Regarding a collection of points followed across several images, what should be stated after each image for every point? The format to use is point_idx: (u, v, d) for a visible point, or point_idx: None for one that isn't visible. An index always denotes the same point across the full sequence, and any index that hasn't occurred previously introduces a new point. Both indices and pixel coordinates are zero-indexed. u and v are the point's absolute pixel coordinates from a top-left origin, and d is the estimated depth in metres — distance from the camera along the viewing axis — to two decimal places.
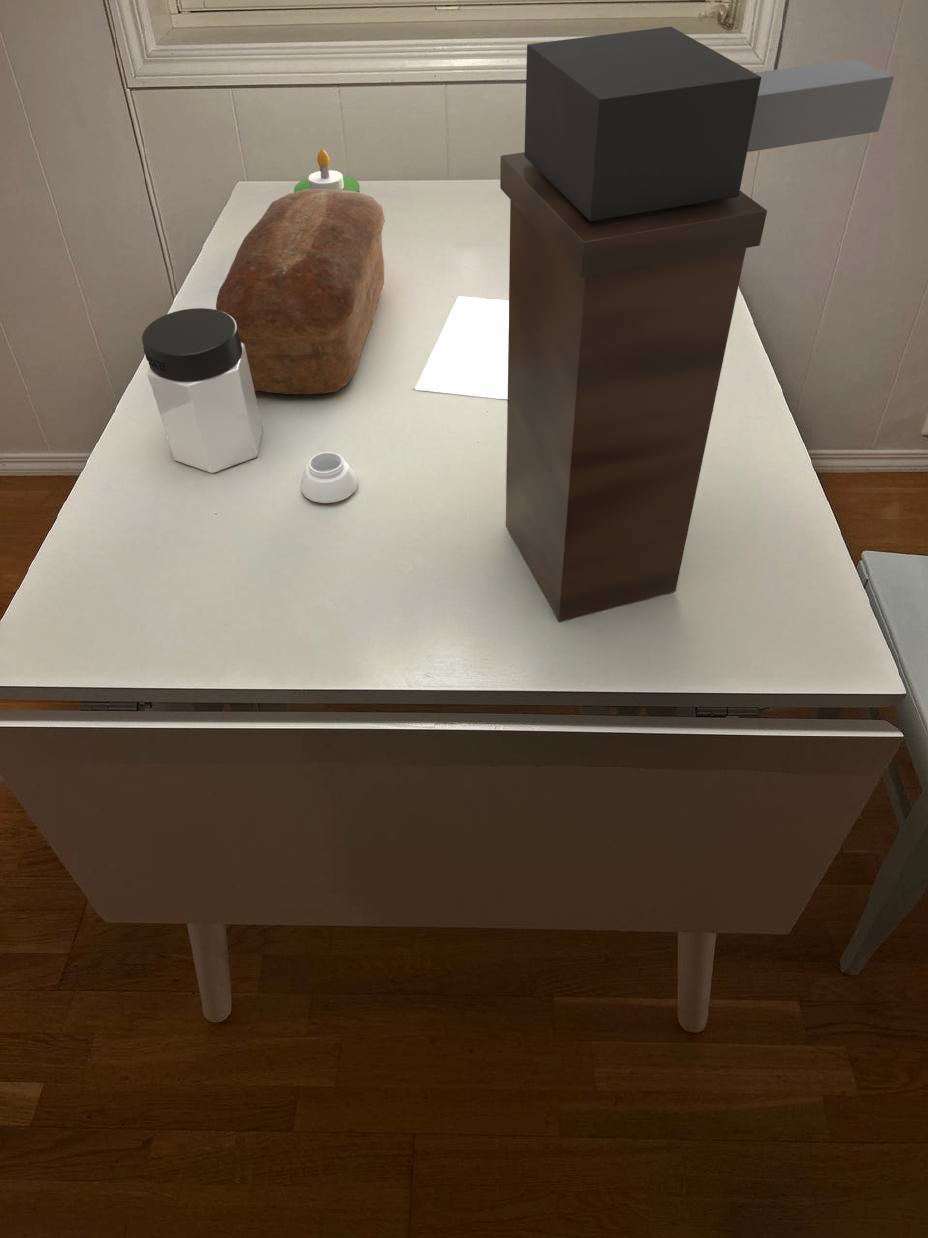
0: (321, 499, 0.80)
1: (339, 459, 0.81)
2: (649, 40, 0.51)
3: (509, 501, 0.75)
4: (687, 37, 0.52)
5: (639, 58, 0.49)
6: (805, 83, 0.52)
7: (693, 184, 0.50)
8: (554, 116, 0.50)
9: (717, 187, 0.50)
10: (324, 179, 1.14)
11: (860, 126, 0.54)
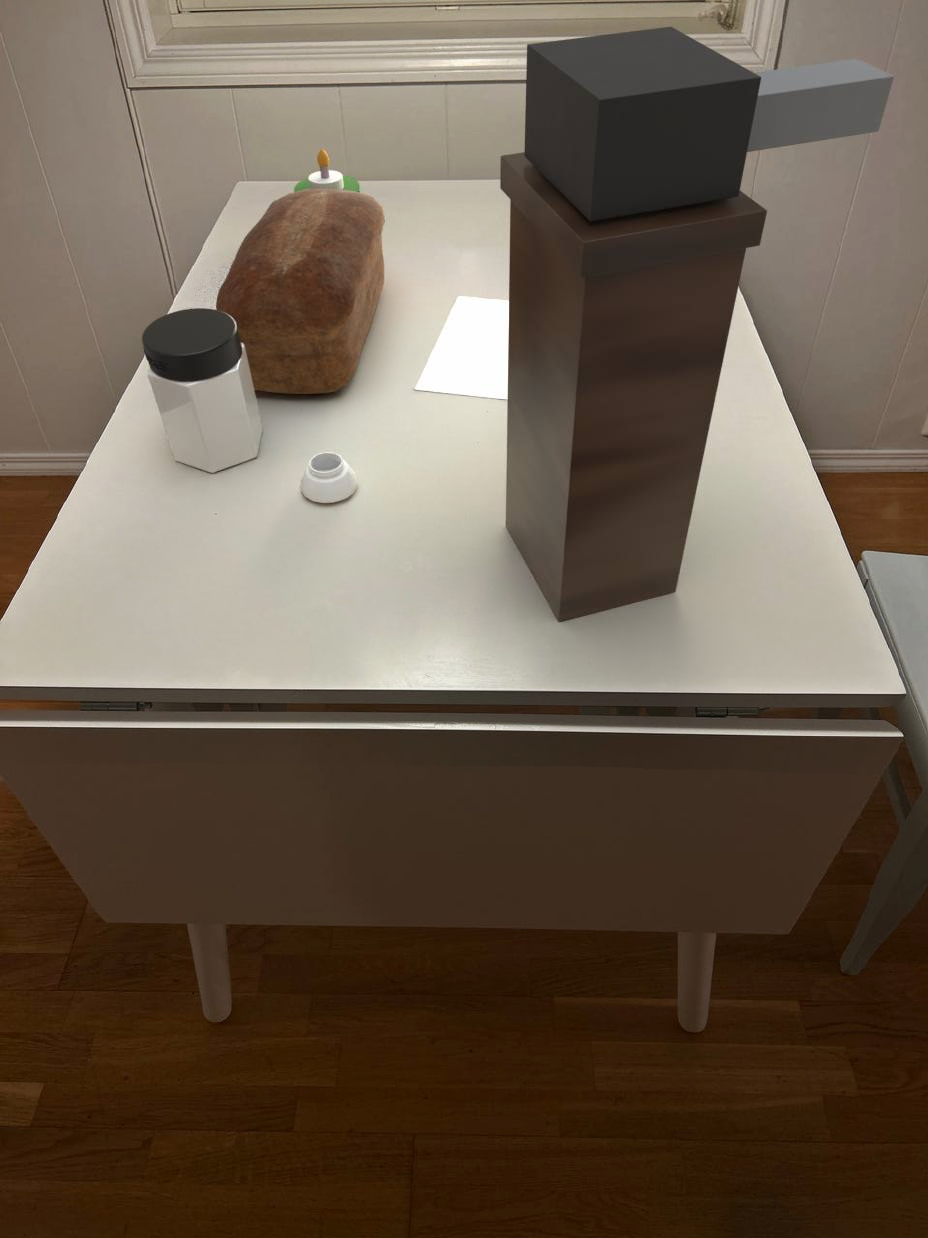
0: (321, 499, 0.80)
1: (339, 459, 0.81)
2: (649, 40, 0.51)
3: (509, 501, 0.75)
4: (687, 37, 0.52)
5: (639, 58, 0.49)
6: (805, 83, 0.52)
7: (693, 184, 0.50)
8: (554, 116, 0.50)
9: (717, 187, 0.50)
10: (324, 179, 1.14)
11: (860, 126, 0.54)
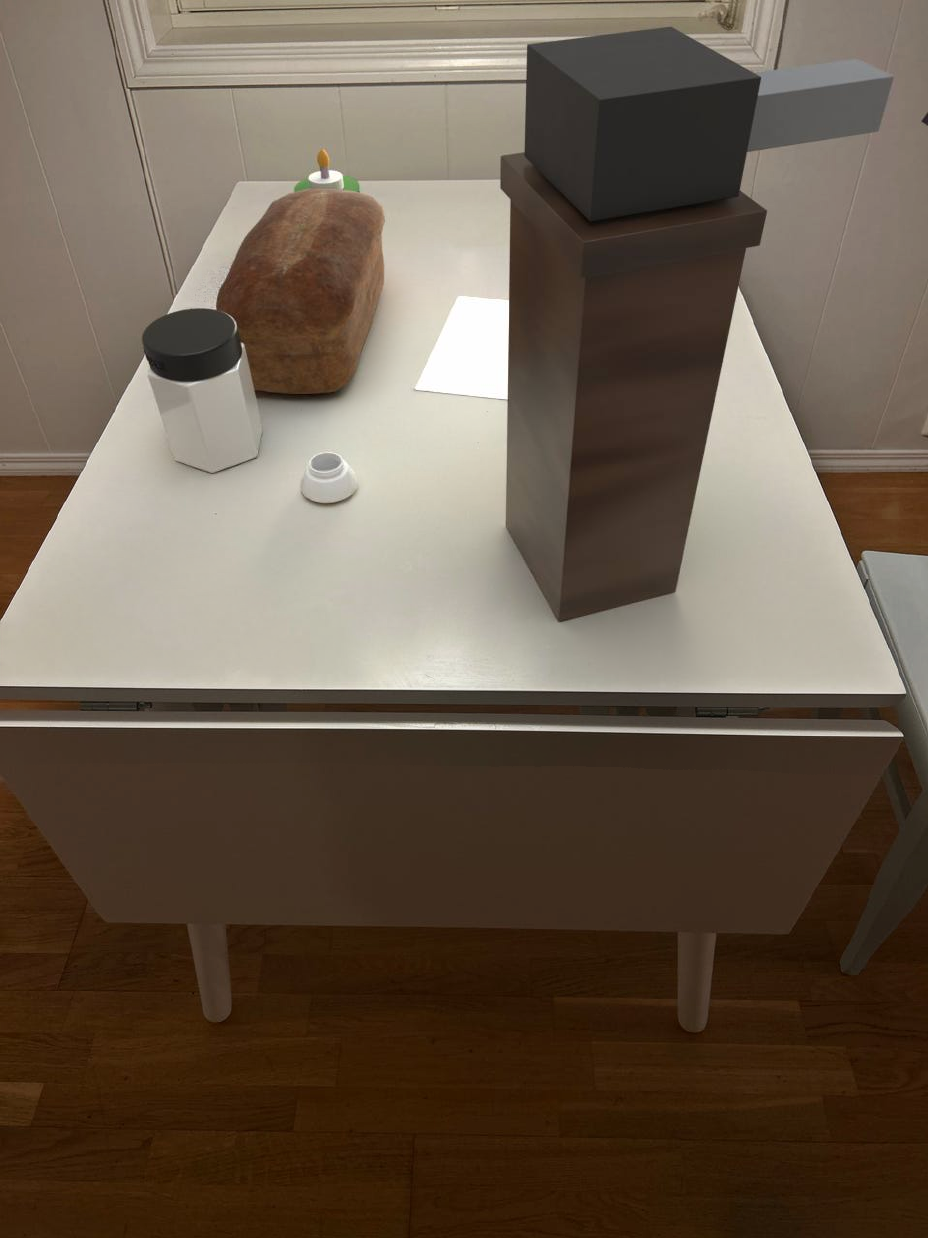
0: (321, 499, 0.80)
1: (339, 459, 0.81)
2: (649, 40, 0.51)
3: (509, 501, 0.75)
4: (687, 37, 0.52)
5: (639, 58, 0.49)
6: (805, 83, 0.52)
7: (693, 184, 0.50)
8: (554, 116, 0.50)
9: (717, 187, 0.50)
10: (324, 179, 1.14)
11: (860, 126, 0.54)
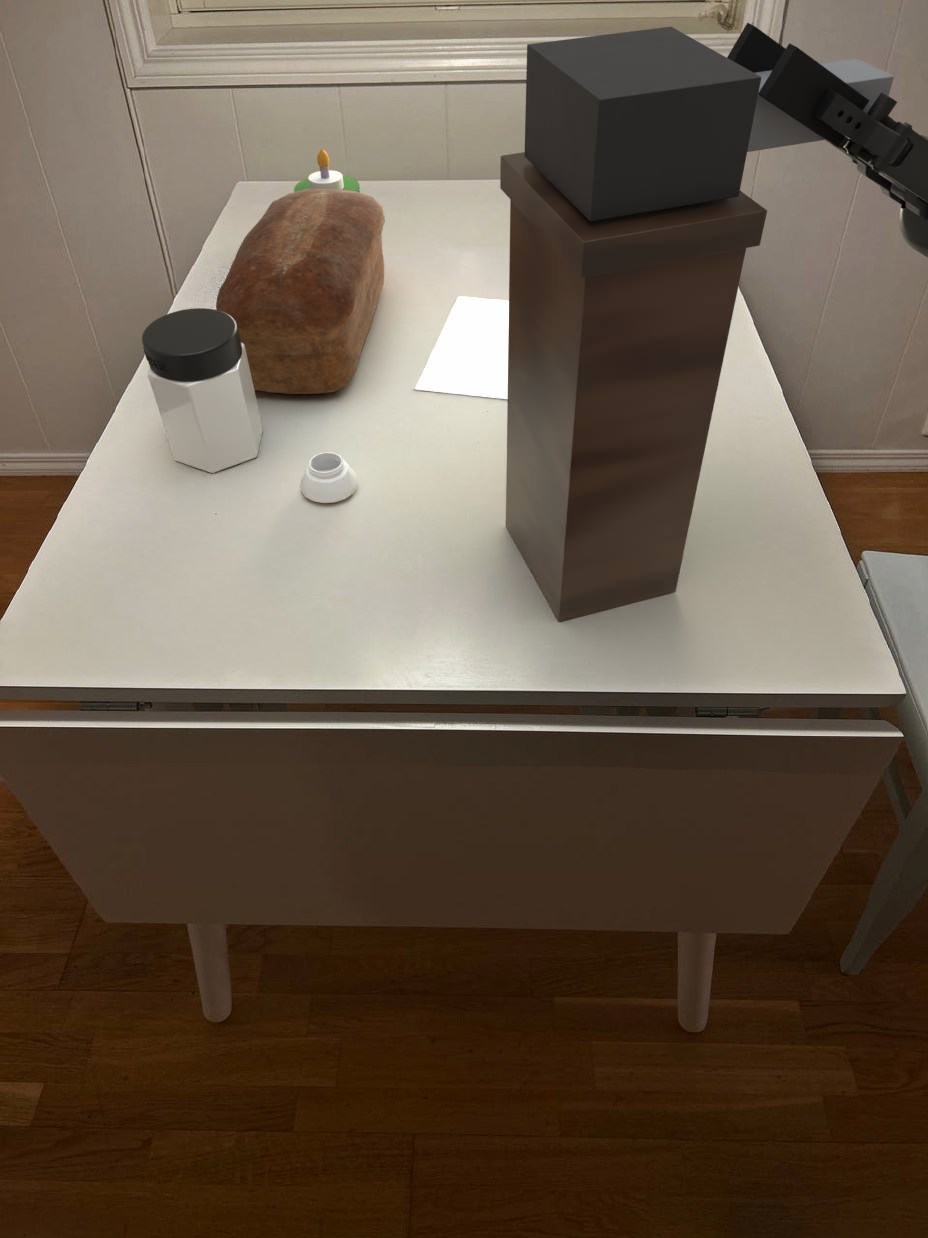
0: (321, 499, 0.80)
1: (339, 459, 0.81)
2: (649, 40, 0.51)
3: (509, 501, 0.75)
4: (687, 37, 0.52)
5: (639, 58, 0.49)
6: None
7: (693, 184, 0.50)
8: (554, 116, 0.50)
9: (717, 187, 0.50)
10: (324, 179, 1.14)
11: None
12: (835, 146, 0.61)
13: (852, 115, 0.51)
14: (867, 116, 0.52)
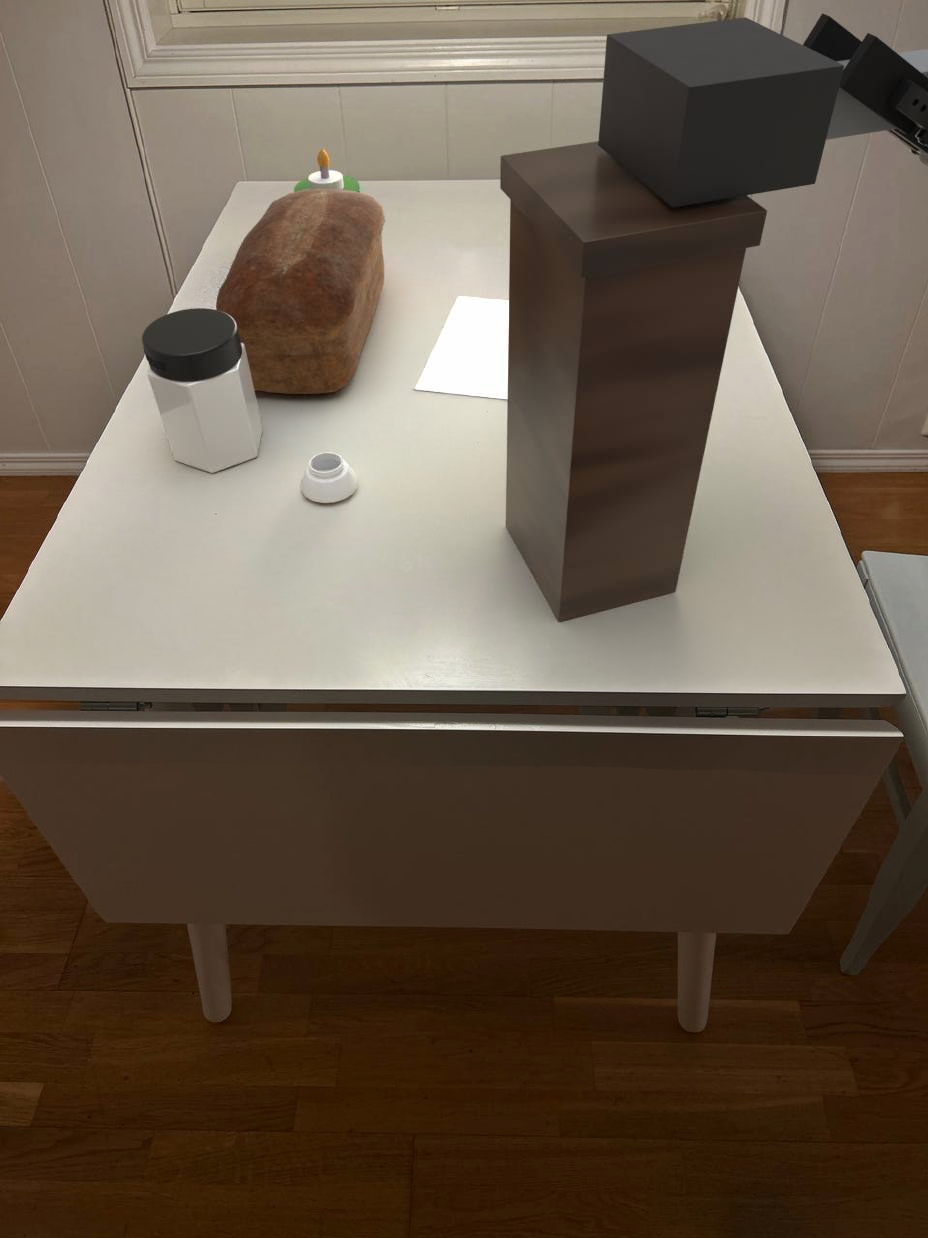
0: (321, 499, 0.80)
1: (339, 459, 0.81)
2: (727, 30, 0.52)
3: (509, 501, 0.75)
4: (764, 27, 0.53)
5: (720, 48, 0.50)
6: None
7: (772, 171, 0.51)
8: (635, 105, 0.51)
9: (795, 174, 0.51)
10: (324, 179, 1.14)
11: None
12: (897, 136, 0.62)
13: (926, 104, 0.52)
14: None
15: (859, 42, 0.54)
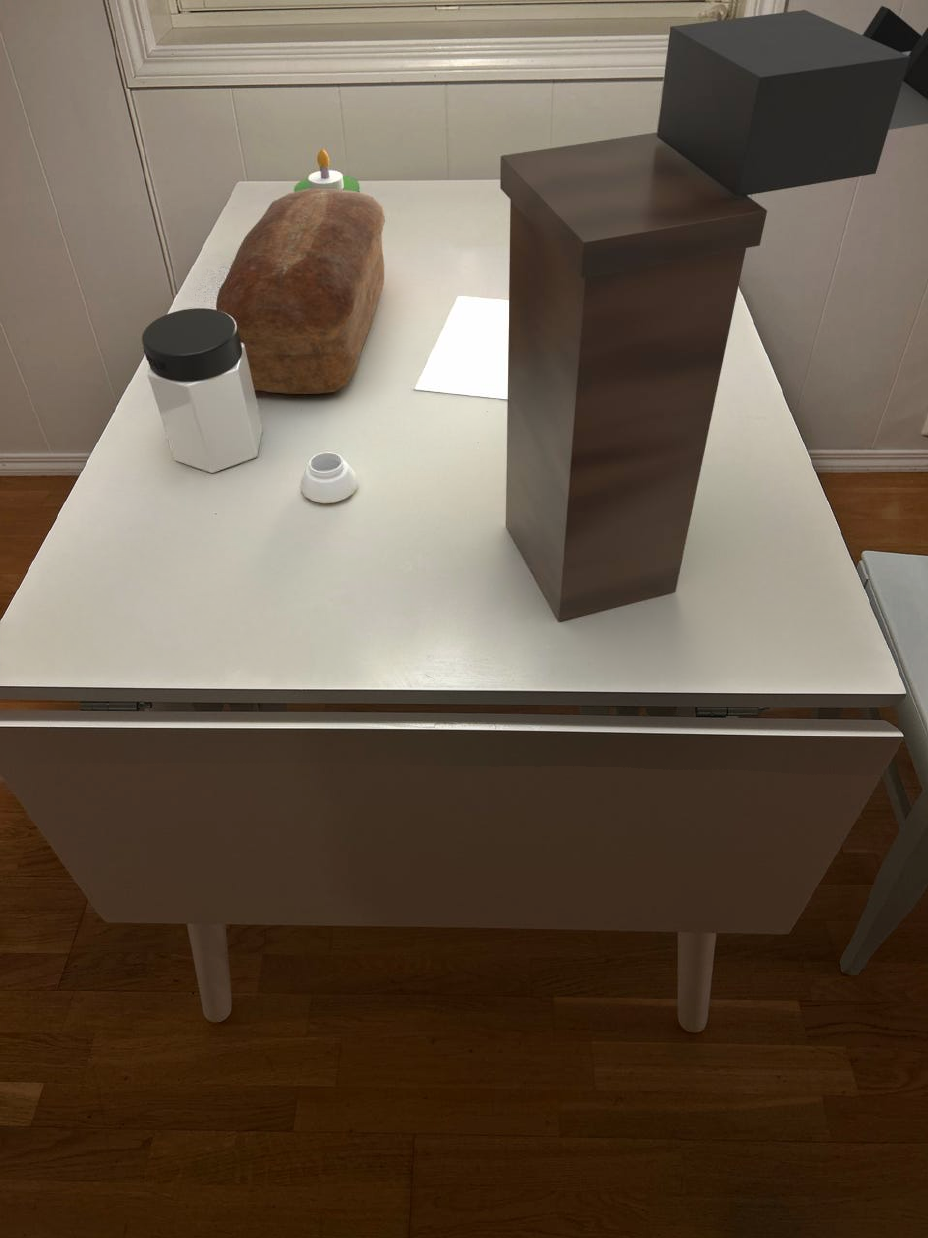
0: (321, 499, 0.80)
1: (339, 459, 0.81)
2: (788, 22, 0.53)
3: (509, 501, 0.75)
4: (824, 20, 0.53)
5: (785, 39, 0.51)
6: None
7: (835, 161, 0.51)
8: (699, 95, 0.52)
9: (857, 164, 0.52)
10: (324, 179, 1.14)
11: None
12: None
13: None
14: None
15: (916, 34, 0.55)
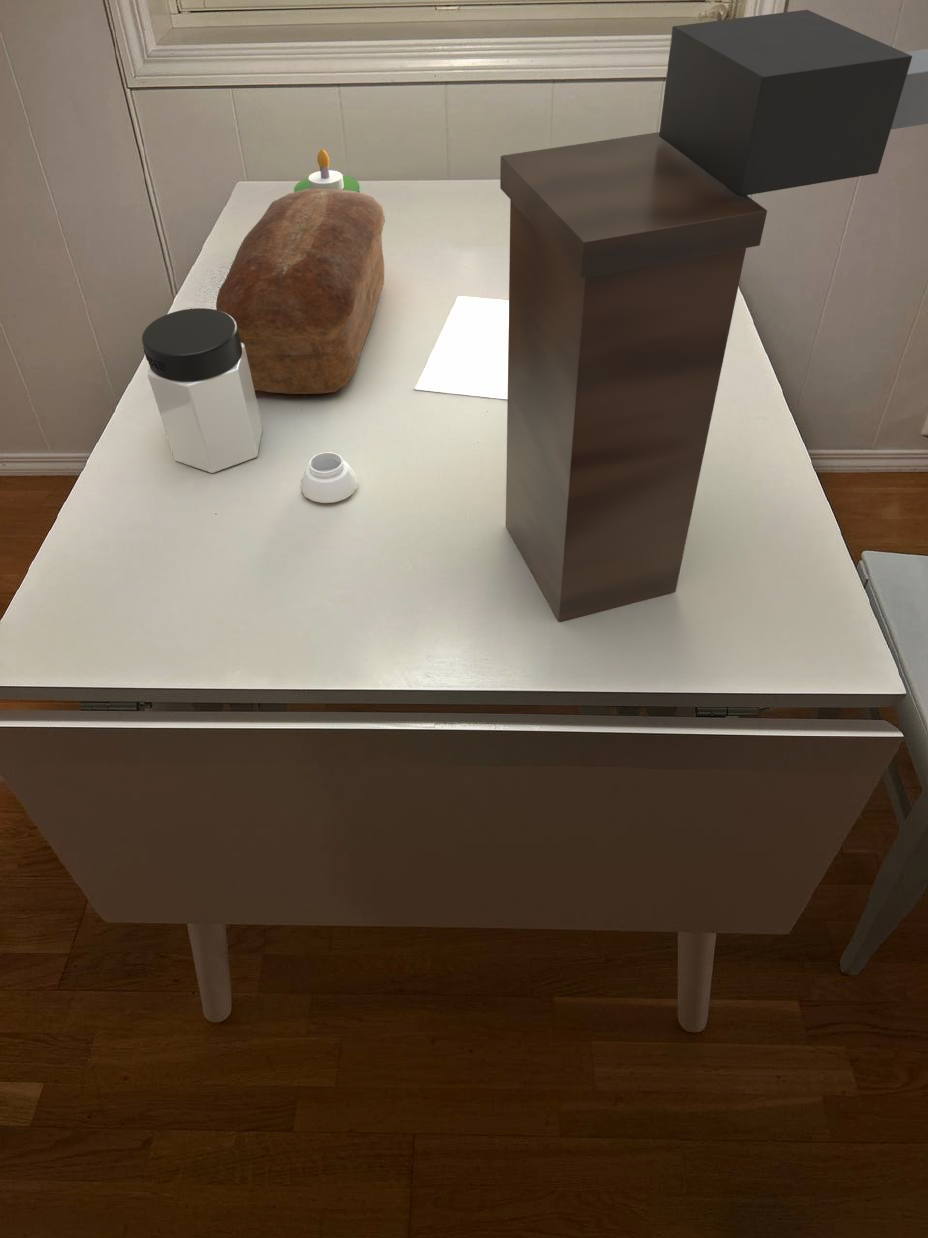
0: (321, 499, 0.80)
1: (339, 459, 0.81)
2: (790, 22, 0.53)
3: (509, 501, 0.75)
4: (826, 19, 0.53)
5: (787, 39, 0.51)
6: None
7: (838, 161, 0.51)
8: (701, 95, 0.52)
9: (859, 164, 0.52)
10: (324, 179, 1.14)
11: None
12: None
13: None
14: None
15: None
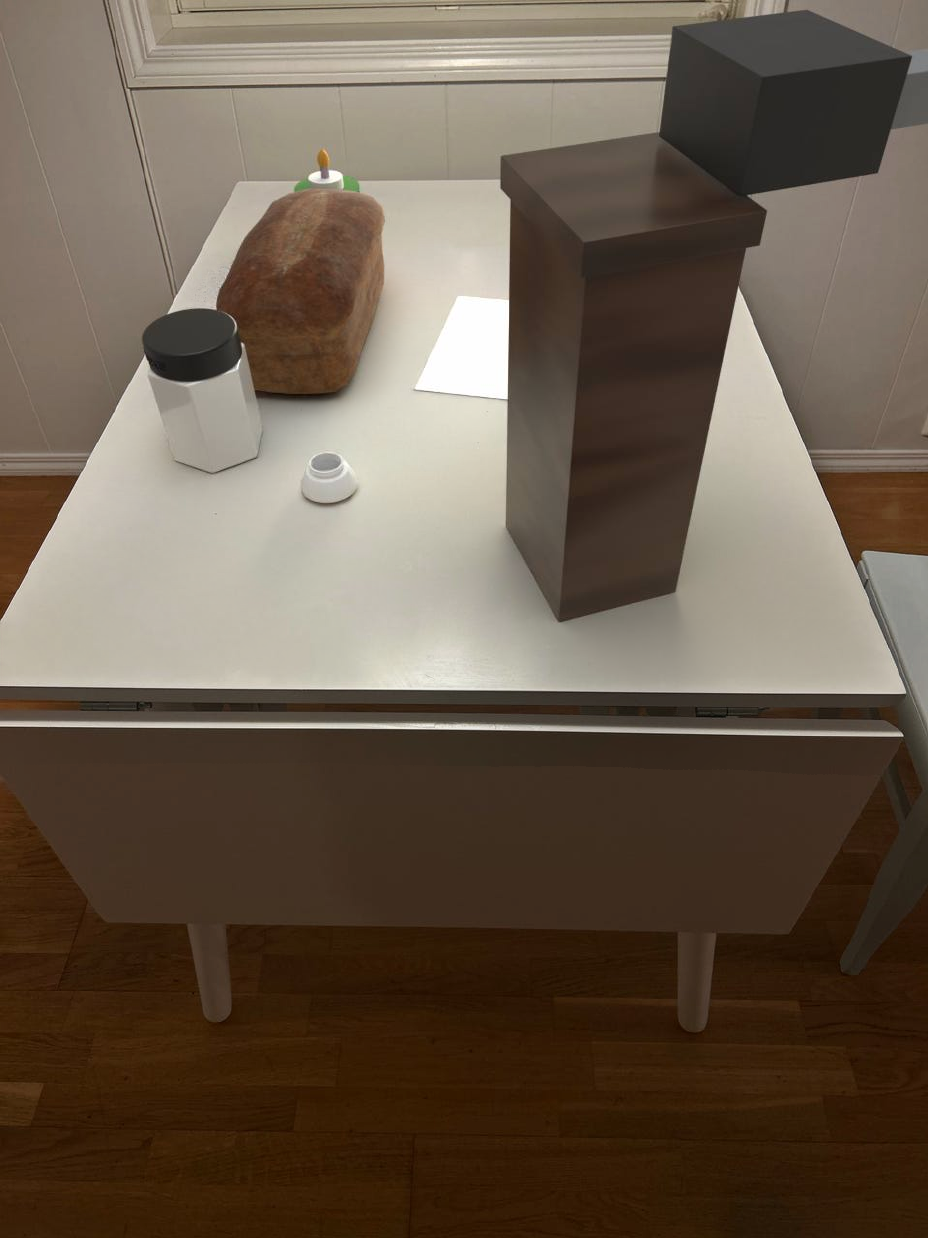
0: (321, 499, 0.80)
1: (339, 459, 0.81)
2: (790, 22, 0.53)
3: (509, 501, 0.75)
4: (826, 19, 0.53)
5: (787, 39, 0.51)
6: None
7: (838, 161, 0.51)
8: (701, 95, 0.52)
9: (859, 164, 0.52)
10: (324, 179, 1.14)
11: None
12: None
13: None
14: None
15: None
